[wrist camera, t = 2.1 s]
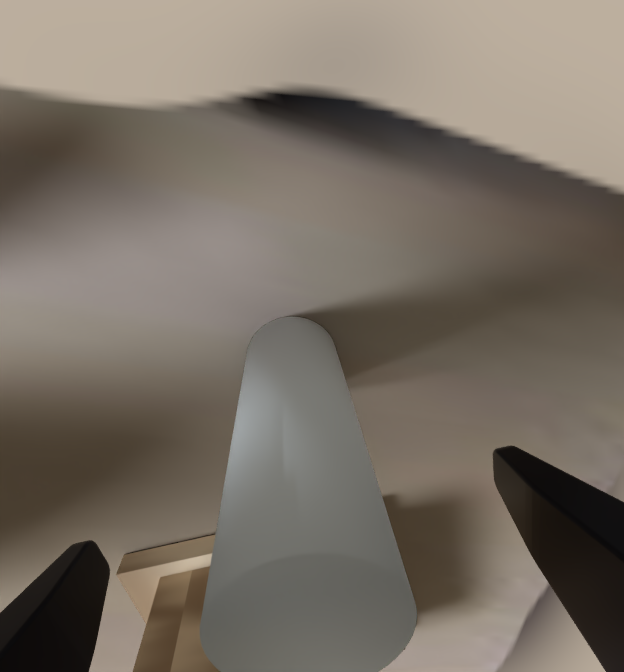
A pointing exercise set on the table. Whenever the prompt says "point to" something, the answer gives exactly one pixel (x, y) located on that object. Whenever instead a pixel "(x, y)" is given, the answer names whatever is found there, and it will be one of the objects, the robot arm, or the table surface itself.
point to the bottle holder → (170, 604)
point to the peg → (302, 523)
